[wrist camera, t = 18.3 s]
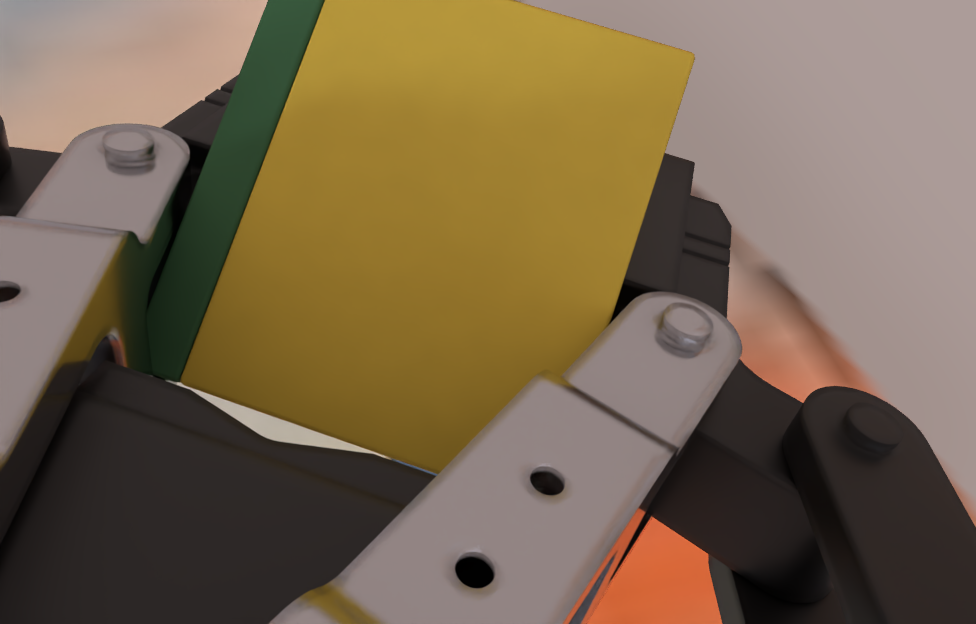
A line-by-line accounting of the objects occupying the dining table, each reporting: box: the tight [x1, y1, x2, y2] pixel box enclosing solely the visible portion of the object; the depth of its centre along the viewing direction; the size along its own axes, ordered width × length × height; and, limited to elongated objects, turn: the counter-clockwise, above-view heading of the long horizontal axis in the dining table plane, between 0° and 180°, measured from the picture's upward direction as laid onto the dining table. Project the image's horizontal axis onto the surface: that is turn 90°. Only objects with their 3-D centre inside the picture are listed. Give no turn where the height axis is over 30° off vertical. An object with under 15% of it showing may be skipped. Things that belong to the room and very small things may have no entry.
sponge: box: [147, 0, 695, 474], centre depth 12 cm, size 5×5×8 cm
